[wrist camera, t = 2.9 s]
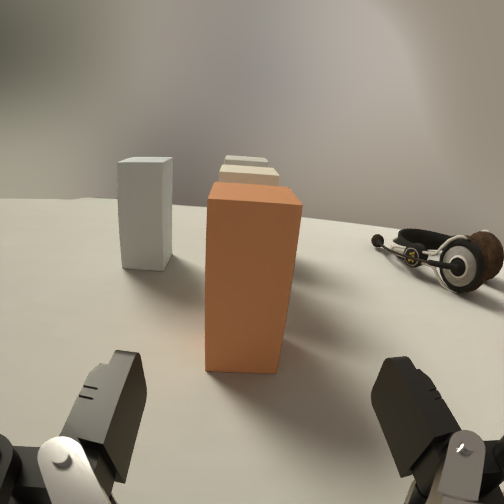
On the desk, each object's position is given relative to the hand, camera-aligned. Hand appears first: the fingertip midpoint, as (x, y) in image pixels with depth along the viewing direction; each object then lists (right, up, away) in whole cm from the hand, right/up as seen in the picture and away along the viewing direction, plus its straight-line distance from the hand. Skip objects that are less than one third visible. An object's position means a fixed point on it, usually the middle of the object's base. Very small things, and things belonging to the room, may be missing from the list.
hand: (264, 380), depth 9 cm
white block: (-13, +3, +27) cm, 30 cm away
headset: (+27, +1, +32) cm, 42 cm away
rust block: (-1, -3, +14) cm, 14 cm away
